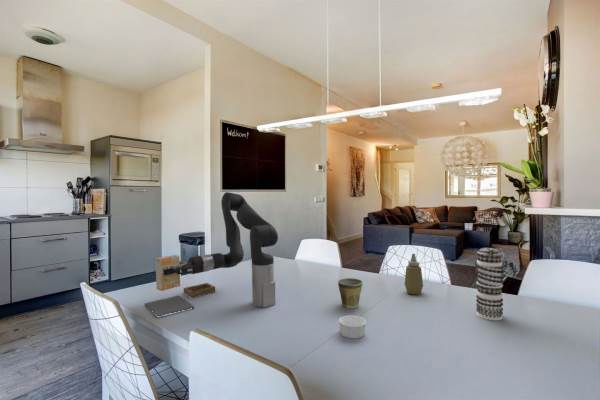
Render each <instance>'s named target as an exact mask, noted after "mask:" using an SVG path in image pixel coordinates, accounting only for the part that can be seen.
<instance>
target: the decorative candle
mask: <svg viewBox="0 0 600 400" xmlns="http://www.w3.org/2000/svg"><path fill="white" fill-rule="evenodd" d="M476 254H477V260H476V262H475V263H474V266H475V267H476V268H475V276H476V277H475V280H476V281H475V284H477V290H476V295H475V297H476V300H475V302H476V304H475V307H476V313H475V314H476V316H477V317H479V318H482V319H484V318H485V320H488V319H489V321H501V320H503V319H504V317H503V315H504V312H503V310H504V308H503V307H502V306H504V303H503V301H504V299H503V293H502V288H503V287H504V284H503V283H504V280H503V279H504V278H505V277H504V276H503V275H502V274H504V273H505V271H504V269H505V267H504V266H503V262H502V255H503V253H501V252H500V251H499V250H498V249H497V248H493V247H481V248H480V249H479V250H478V251H476Z"/></svg>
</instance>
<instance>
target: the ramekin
mask: <svg viewBox="0 0 600 400" xmlns="http://www.w3.org/2000/svg"><path fill="white" fill-rule="evenodd" d="M366 323H367V321H366V319H364V318H363V317H361V316H357V315H343V316H341V317H340V318H339V319H338V324H339V332H340V334H341V335H342V336H343V337H345V338H347V339H360V338H362V337H364V336H365V333H366Z"/></svg>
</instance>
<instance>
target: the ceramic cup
mask: <svg viewBox="0 0 600 400" xmlns="http://www.w3.org/2000/svg"><path fill="white" fill-rule="evenodd" d="M337 284H338V290H339V293H340V299H341V304H342V307H344V308H346V309H356V308H358V307H359V303H360V298H361V293H362V288H363V281H362V279H359V278H353V277H352V278H350V277H348V278H347V277H346V278H341V279H338V281H337Z"/></svg>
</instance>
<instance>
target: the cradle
mask: <svg viewBox="0 0 600 400" xmlns="http://www.w3.org/2000/svg"><path fill="white" fill-rule="evenodd" d="M184 293H185V294H184ZM208 293H209V294H212V293H213V294H214V293H216V286H214V285H212V284H210V283H209V282H205V283H200V284H196V285H192V286H187V287H183V294H184V295H186V294H187V295H188V296H187V295H186V296H187V297H189V296H190V297H193V298H196V297H195V296H197V297H200V296H199V295H201V296H204V295H203V294H205V295H208ZM190 297H189V298H190Z"/></svg>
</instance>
